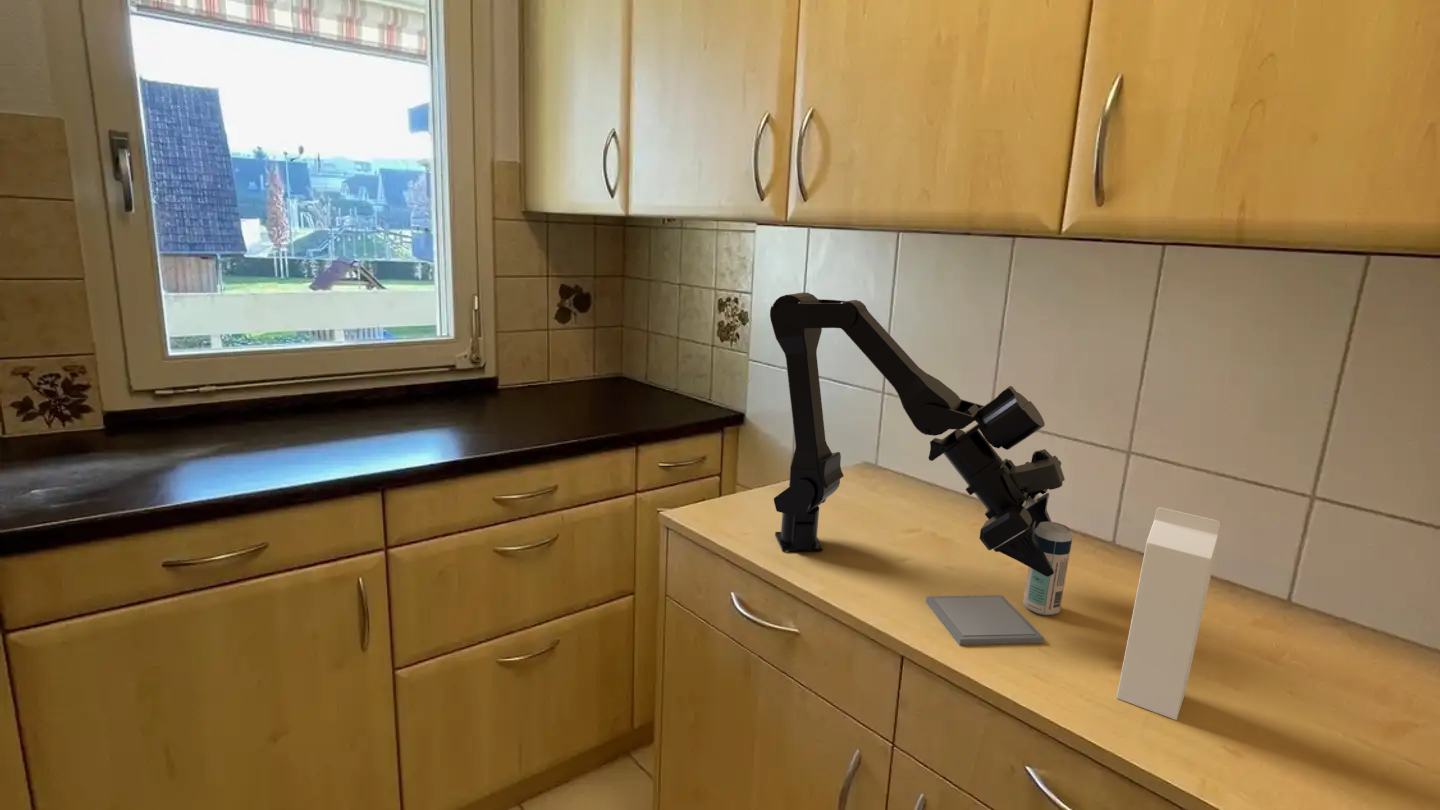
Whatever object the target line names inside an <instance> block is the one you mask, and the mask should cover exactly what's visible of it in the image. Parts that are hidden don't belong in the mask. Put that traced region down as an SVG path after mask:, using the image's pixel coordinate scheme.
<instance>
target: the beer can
mask: <svg viewBox="0 0 1440 810" xmlns="http://www.w3.org/2000/svg"><path fill="white" fill-rule="evenodd" d="M1034 537H1035V539H1036V541H1037V542H1038V544H1039V546H1040V547H1041V549H1042V551H1043V552H1044V554H1045V556H1046V558H1047V559H1048V561H1049V563H1050V565H1051V566H1052V568H1053V570H1054V574H1052V575H1051V576H1049V577H1047V576H1045V575H1043V574H1041V573H1039V572H1037V571H1036V570H1034V569H1032V568H1030V567H1028V566H1027V567H1028V568H1027V574H1026V575H1027V576H1026V581H1025V588H1024V594H1023V601H1022V603H1023V605H1024V606H1025V607H1026V608H1027V609H1028V610H1029V611H1031V612H1032V613H1035V614H1037V615H1040V616H1053V615H1056V614H1059V613H1060V612H1061V610H1062V609H1061V608H1062V603H1063V602H1062V601H1063V597H1064V589H1065V584H1066V577H1067V572H1068V566H1069V561H1070V555H1071V550H1072V543H1073V538H1074V537H1073V533H1072V532H1071V529H1070V528H1069V527H1068V526H1067V525H1065V524H1061V523H1059V522H1055V521H1051V522H1048V521H1047V522H1040V524H1039V525H1038V527H1037V528H1036V529H1035V532H1034Z"/></svg>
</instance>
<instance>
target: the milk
mask: <svg viewBox="0 0 1440 810" xmlns="http://www.w3.org/2000/svg"><path fill="white" fill-rule="evenodd" d="M1220 528H1221V522H1220V521H1219V520H1218V519H1213V518H1209V517H1205V516H1200V515H1196V514H1191V513H1187V512H1183V511H1178V510H1175V509H1174V510H1173V509H1170V508H1165V507H1162V506H1161V507H1157V508H1156V510H1155V513H1154V518H1153V522H1152V525H1151V528H1150V531H1149V534H1148V537H1147V539H1146V543H1145V548H1144V552H1143V553H1144V554H1143V559H1142V565H1141V567H1140V569H1141V570H1140V573H1139V574H1140V575H1139V581H1138V583H1137V590H1136V595H1135V601H1134V606H1133V611H1132V615H1131V621H1130V627H1129V631H1128V637H1127V642H1126V648H1125V650H1124V651H1125V652H1124V658H1123V662H1122V667H1121V673H1120V678H1119V683H1118V687H1117V692H1116V698H1117V700H1121V701H1123V702H1125V703H1129V704H1131V705H1134V706H1136V707H1139V708H1142V709H1145V710H1147V711H1151V712H1153V713H1155V714H1158V715H1161V716H1164V717H1166V718H1169V719H1172V720H1174V721H1177V720H1178V717H1179V714H1180V711H1181V709H1182V704H1183V702H1184V698H1185V696H1186V692H1187V688H1188V683H1189V677H1190V672H1191V668H1192V665H1193V663H1192V662H1193V659H1194V656H1195V655H1194V653H1195V650H1196V645H1197V641H1198V636H1199V630H1200V627H1201V623H1202V622H1201V621H1202V617H1203V614H1204V613H1203V612H1204V608H1205V604H1206V600H1207V595H1208V594H1207V593H1208V591H1209V585H1210V581H1211V577H1212V571H1213V569H1214V562H1215V557H1216V555H1217V554H1216V552H1217V549H1218V544H1219V534H1220V530H1221V529H1220Z"/></svg>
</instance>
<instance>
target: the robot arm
mask: <svg viewBox="0 0 1440 810" xmlns="http://www.w3.org/2000/svg"><path fill="white" fill-rule="evenodd" d="M769 318H770V323H771V326H772V330H773V333H774V337H775V340H776V341H777V343H778V345H779V346H780V348H781V351H782V352H783V353H784V356H785V362H786V363H785V364H786V371H787V379H788V390H789V398H790V399H789V401H790V407H791V416H792V425H793V435H794V442H795V443H794V444H795V448H794V452H793V456H792V459H791V463H790V468H789V483H788V485H789V486H788V487H787V488H786V489H784V490H783V491H782V492H780V493H779V494H778V495H776V496H774V498H773V503H774V507H775V510H776V512H777V513H782V514H781V515H782V517H781V529H780V531H775V533H774V536H775V538H776V541H777V542H778V544H779V547H780V549H781V551H783V552H816V551H817V552H821V551H823V550H824V549H823V548H824V547H823V545H822V543H821V541H820V540H819V538H818V527H819V516H820V515H819V514H820V505H822V504H824V503H825V502H826V501H827V499H828V498H829V497H830V496H832V495H833V494H834V493H835V492H836V491H837V490H838V488H839V487H840V485H841V479H842V478H844V477H845V475H844V473H843V471H842V467H841V459H842V457H841V452H840V451H837V452H832V451H831V449H830V447H829V446H828V444H827V439H826V433H825V432H826V431H825V423H824V414H823V413H824V411H823V404H822V402H823V401H822V395H821V394H822V393H821V384H820V376H819V365H818V356H817V349H818V346H819V343H820V338H821V334H822V332H823V331H822V330H823V329H841V330H842V331H843V332H844V333H845V334H846V335H847V337H848V338H850V340H851V341H852V342H853V343H854V344H855V346H856V347H858V349H859V350H860V351H861V352H862V353H863V354H864V355H865V357H867V359H868V361H870V362H871V363H872V364H873V366H874V367H875V369H877V370H878V371H879V372H880V374H881V375H882V376H883V377H884V378H885V379H886V380H887V382H888V383H889V384H890V385H891V387H893V389H894V390H895V392H896V393H897V395H898V398H899V400H900V403H901V406H902V408H903V410H904V411H905V413H906V415H907V416H908V418H909V420H910V421H911V423H912V425H913V426H914V427H915V429H916V430H918V431H919V432H920V433H921V434H923V435H924V436H932V437H933V436H934V438H933V439H932V440H930V441H929V444H930V448H929V449H930V450H929V454H928V460H929V461H930V462H932V461H935V460H936V459H938V458H939V457H941V456H942V455H944V456H945V458H946V459H947V460H948V461H949V462H950V464H951V465H952V466H953V468H954V469H955V470H956V472H958V474H959V475H960V477H961V478H962V479H963V481H964V482H965V483H966V485H967V487H966V488H965V491H966V492H967V493H968V495H969V496H971V495H973V494H975V496H976V497H977V498H978V499H979V501H980V502H981V504H982V505H983V506H984V507H985V509H986V511H985V513H984V515H985V516H986V518H987V520H986V521H985V522H984V524H983V525H982V527H981V528H980V533H979V540H980V541H981V543H982V544H983V545H984V547H985V548H986V550H988V551H991V550H993V551H994V552H995V553H998V552H999V553H1000V554H1003V555H1005V556H1007V557H1010V558H1012V559H1013V560H1015V561H1017V562H1020V563H1021V564H1023V565H1025V566H1027V567H1030V568H1032V569H1034V570H1036V571H1037V572H1039V573H1041V574H1043V575H1045V576H1047V577H1049V576H1051V575H1052V574H1054V570H1053V568H1052V566H1051V565H1050V563H1049V561H1048V559H1047V558H1046V556H1045V554H1044V552H1043V551H1042V549H1041V547H1040V546H1039V544H1038V542H1037V541H1036V539H1035V537H1034V532H1035V529H1036V528H1037V527H1038V525H1039V524H1040V522H1047V521H1048V522H1052V520H1051V516H1050V515H1049V513H1048V510H1047V509H1048V508H1047V507H1048V501H1049V498H1050V492H1048V490H1050V491H1052V490H1055V489H1059V488H1061V487H1063V482H1065V479H1066V478H1065V475H1064V472H1063V469H1062V467H1061V465H1062V462H1061V460H1059V458H1058V457H1057V456H1056V455H1051V453H1050V452H1049V451H1048V450H1046V449H1045V448H1044V449H1040V450H1036V451H1034V452H1033V453H1032V456H1031V461H1030V462H1029V461H1026V462H1025V463H1024V464H1019V465H1015V463H1014V462H1013V461H1012V460H1011V459H1008V458H1005V459H1002V457H1001V456H1000V455H999V454H998V452H996V450H995V449H997V450H999V449H1001V448H1002V449H1004V450H1006V451H1008V450H1009V451H1010V450H1011V449H1012V448H1014V447H1015V446H1017V445H1018V444H1020V443H1021V442H1023V441H1024V440H1026V439H1027V438H1029V437H1030V436H1031V435H1034V434H1035V433H1037V431H1040V430H1041V429H1043V428H1044V427H1045V426H1046V425H1045V421H1044V418H1043V416H1042V414H1041V412H1040V411H1039V410H1038V408H1037V407H1036V405H1034V403H1033V402H1032V401H1031V400H1030V401H1029V400H1028V399H1027V398H1026V397H1025V396H1024V395H1023V394H1021V393H1020V392H1018V391H1017V390H1016V389H1015V388H1014V387H1013V386H1012V385H1009V386H1008V387H1006V388H1004V390H1002V391H1001V392H999V394H998V395H997V396H996V397H995V398H993V399H992V400H991V401H989V402H988V403H986V404H985V405H982V404H979V403H975V402H971V401H968V400H965V399H962V398H960V397H959V395H958V394H957V393H956V392H955V391H953V390H952V388H949V387H948V386H947V385H946V384H944V383H943V382H942V381H941V380H939V379H937V378H936V377H934V376H932V375H930V374H929V373H927V372H925V371H924V370H923V369H922V368H921V367H919V366H918V365H917V363H915V362H914V360H913V359H912V358H911V357H910V356H909V355H908V353H906V351H905V350H904V349H903V348H902V347H901V346H900V345H899V343H898V342H897V341H896V340H895V339H894V338H893V337H892V336H891V335H890V333H888V332H887V330H885V327H883V326H882V325H881V323H880V322H878V320H877V319H875V317H874V316H873V315H872V314H871V312H869V310H868V309H867V306H866V305H865V303H863V302H862V301H860V300H857V299H853V300H852V299H851V300H837V299H821V298H820V299H819V298H817V297H816V296H815V295H814V294H812V293H809V292H796V293H789V294H784V295H781V296H780V297H778V298H777V299H776V300H775V301H774V303H772V304H771V307H770V310H769ZM974 422H976V423H977V424H975V425H974V426H972V427H971V428H970V429H968V430H966V431H964V430H963V429H965V428H967V426H969V425H971V424H972V423H974ZM949 430H953V431H951V433H949V434H948V435H946V436H945V437H943V438H937V437H936V436H940V435H943V434H944V433H946V432H948V431H949ZM993 447H994V448H995V449H994V448H993ZM1039 494H1041V495H1039Z"/></svg>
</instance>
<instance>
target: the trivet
mask: <svg viewBox="0 0 1440 810" xmlns="http://www.w3.org/2000/svg"><path fill="white" fill-rule="evenodd" d="M925 597H926V598H925V603H926V604H927V606H928V607H929V608H930V609H931V611H932V612H933V613H934V614H935V616H936V617H937V618H938V619H939V621H940V622H941V624H942V625H943V626H944V627H945V628H946V630H947V631H948V633H949V634H950V635H951V636H952V638H953V639H954V641H956V643H957V644H958V645H959V646H983V645H984V646H985V645H986V646H987V645H1015V644H1016V645H1020V644H1023V645H1024V644H1044V636H1043V635H1042V634H1041V633H1040V632H1039V631H1038V630H1037V629H1036V628H1035V627H1034V625H1032V624H1031V623H1030V622H1029V621H1028V619H1026V618H1025V617H1024V616H1023V615H1022V614H1021V612H1020V611H1018V610H1017V608H1015V607H1014V606H1013V605H1012V604H1011V603H1010V601H1008V599H1007V598H1005V596H1003V595H1001V594H998V595H997V594H995V595H994V594H993V595H990V594H989V595H942V596H941V595H938V596H937V595H935V596H933V595H931V596H930V595H929V596H925Z"/></svg>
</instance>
